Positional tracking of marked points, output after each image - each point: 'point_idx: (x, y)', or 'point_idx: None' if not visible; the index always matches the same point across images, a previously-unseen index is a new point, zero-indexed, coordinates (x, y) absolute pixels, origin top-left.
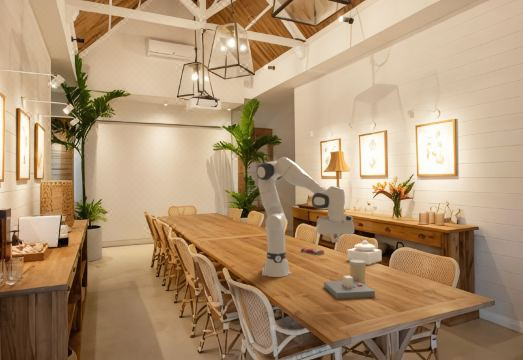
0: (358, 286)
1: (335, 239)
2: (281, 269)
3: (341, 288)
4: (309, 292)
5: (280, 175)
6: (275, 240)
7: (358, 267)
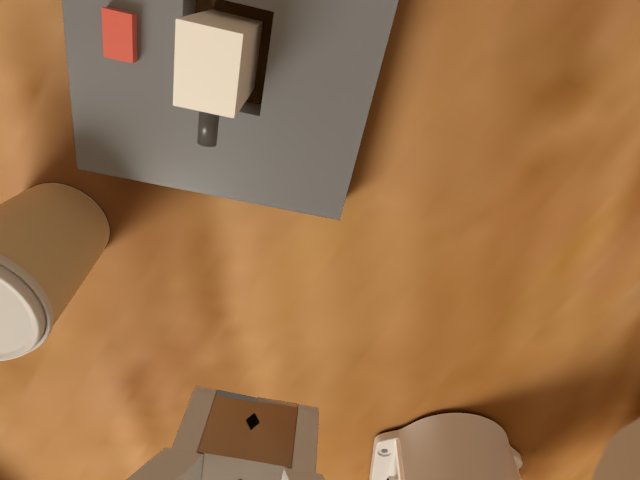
0: (144, 13)
1: (253, 456)
2: (459, 452)
3: (311, 20)
4: (493, 144)
5: None
6: None
7: (6, 240)
